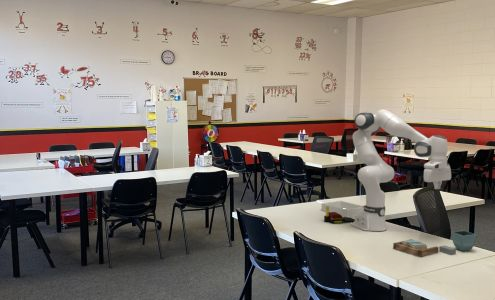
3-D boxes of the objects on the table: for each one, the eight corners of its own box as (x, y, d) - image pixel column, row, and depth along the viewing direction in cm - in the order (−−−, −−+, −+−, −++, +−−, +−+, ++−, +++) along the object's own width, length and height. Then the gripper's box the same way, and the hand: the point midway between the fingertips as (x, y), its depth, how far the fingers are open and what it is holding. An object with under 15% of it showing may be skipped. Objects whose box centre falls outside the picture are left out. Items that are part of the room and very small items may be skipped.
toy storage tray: (321, 211, 344) (321, 203, 343) (341, 208, 354) (341, 200, 354) (346, 218, 323) (346, 209, 322) (366, 215, 333) (366, 206, 333)
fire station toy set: (320, 220, 317) (320, 204, 316) (347, 219, 323) (347, 202, 322) (330, 226, 304) (330, 209, 303) (358, 224, 309) (358, 207, 308)
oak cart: (401, 249, 255) (401, 240, 255) (413, 247, 258) (413, 239, 258) (414, 254, 246) (414, 245, 246) (426, 253, 249) (427, 244, 249)
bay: (393, 248, 255) (393, 243, 255) (411, 244, 263) (411, 239, 263) (420, 257, 241) (420, 251, 241) (438, 252, 249) (438, 247, 249)
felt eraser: (439, 252, 251) (439, 246, 251) (444, 250, 253) (444, 245, 253) (450, 255, 245) (451, 249, 245) (455, 254, 247) (456, 248, 247)
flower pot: (461, 252, 249) (462, 235, 248) (450, 247, 258) (451, 231, 257) (476, 251, 252) (476, 234, 251) (464, 246, 260) (465, 230, 259)
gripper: (444, 162, 278) (443, 186, 279) (422, 164, 267) (421, 189, 268) (454, 164, 273) (453, 188, 274) (431, 166, 262) (430, 191, 263)
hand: (437, 188), depth 271 cm, fingers closed
